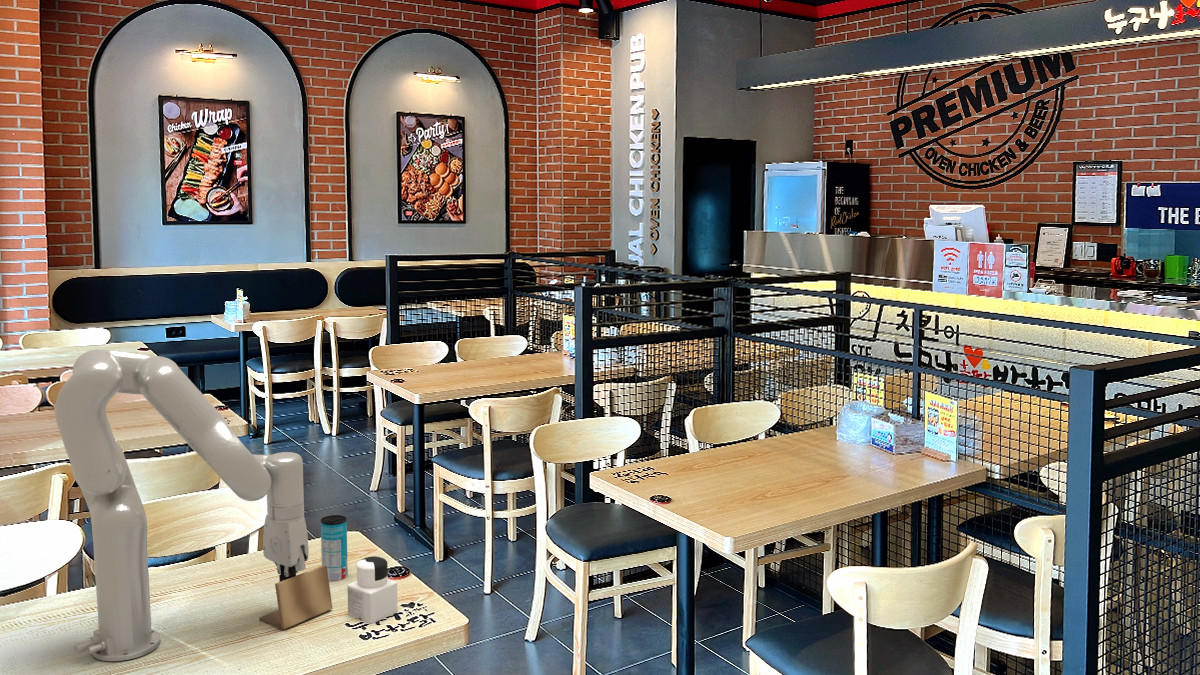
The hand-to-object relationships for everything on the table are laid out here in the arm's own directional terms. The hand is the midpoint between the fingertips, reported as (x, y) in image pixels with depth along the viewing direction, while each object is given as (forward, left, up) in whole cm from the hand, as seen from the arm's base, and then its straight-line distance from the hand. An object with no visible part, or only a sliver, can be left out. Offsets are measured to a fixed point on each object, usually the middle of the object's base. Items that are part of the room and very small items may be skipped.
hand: (288, 590), depth 210 cm
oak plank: (0, -6, 0) cm, 6 cm away
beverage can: (+19, +8, -6) cm, 21 cm away
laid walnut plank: (0, -8, -6) cm, 10 cm away
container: (+11, -15, -6) cm, 19 cm away
